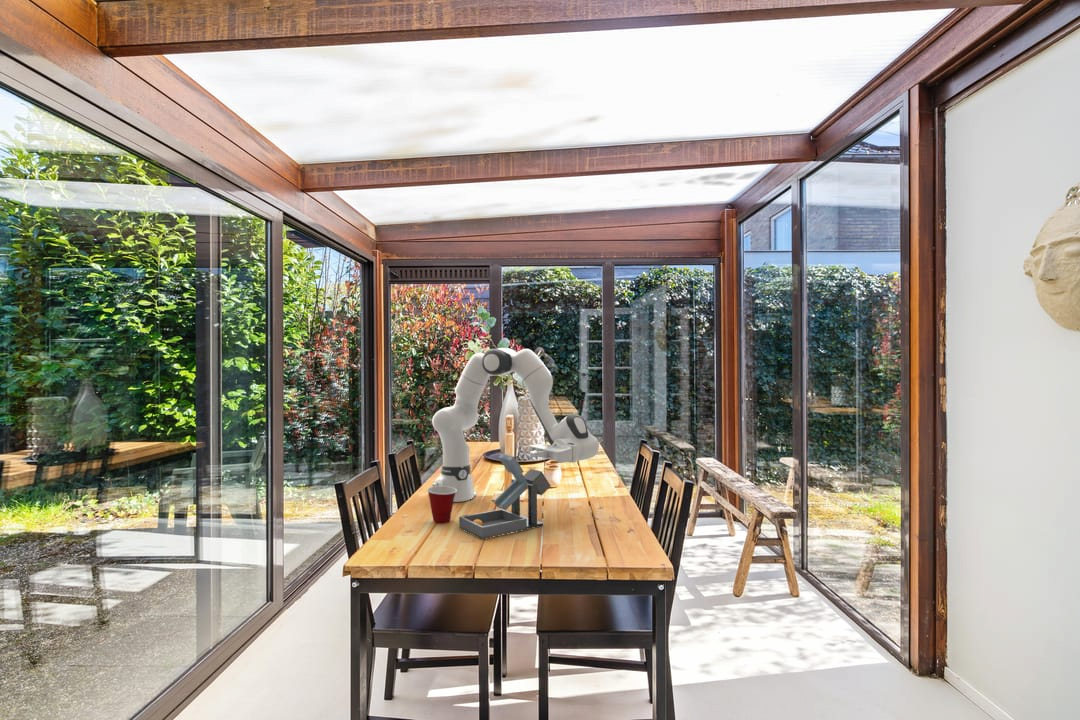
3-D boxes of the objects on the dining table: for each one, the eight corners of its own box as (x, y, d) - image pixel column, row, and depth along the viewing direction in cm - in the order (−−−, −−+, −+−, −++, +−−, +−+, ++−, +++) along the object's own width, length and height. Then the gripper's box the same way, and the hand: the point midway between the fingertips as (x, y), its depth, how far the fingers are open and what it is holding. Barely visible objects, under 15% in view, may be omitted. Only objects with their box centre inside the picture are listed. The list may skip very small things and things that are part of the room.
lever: (503, 518, 211) (475, 477, 205) (538, 482, 220) (513, 442, 214) (516, 523, 205) (487, 482, 198) (552, 486, 213) (526, 445, 207)
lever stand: (505, 520, 215) (505, 479, 215) (521, 517, 219) (521, 477, 219) (526, 529, 204) (526, 486, 204) (543, 525, 208) (543, 484, 208)
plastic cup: (451, 526, 207) (451, 492, 207) (422, 524, 210) (422, 491, 209) (461, 518, 218) (461, 485, 218) (433, 516, 220) (433, 484, 220)
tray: (459, 528, 206) (459, 516, 205) (502, 519, 216) (502, 508, 216) (482, 539, 192) (482, 527, 192) (526, 530, 203) (526, 518, 203)
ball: (471, 518, 201) (480, 518, 203) (469, 528, 201) (478, 528, 203) (476, 520, 198) (485, 520, 200) (474, 531, 198) (483, 531, 200)
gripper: (546, 439, 230) (516, 442, 222) (579, 445, 213) (548, 449, 205) (546, 455, 230) (516, 459, 222) (579, 462, 213) (548, 467, 205)
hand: (532, 454), depth 213 cm, fingers closed
